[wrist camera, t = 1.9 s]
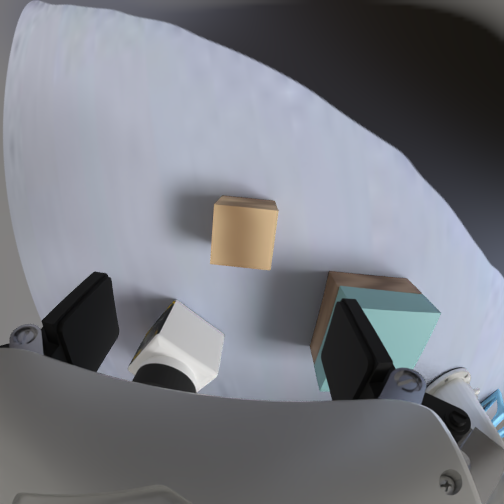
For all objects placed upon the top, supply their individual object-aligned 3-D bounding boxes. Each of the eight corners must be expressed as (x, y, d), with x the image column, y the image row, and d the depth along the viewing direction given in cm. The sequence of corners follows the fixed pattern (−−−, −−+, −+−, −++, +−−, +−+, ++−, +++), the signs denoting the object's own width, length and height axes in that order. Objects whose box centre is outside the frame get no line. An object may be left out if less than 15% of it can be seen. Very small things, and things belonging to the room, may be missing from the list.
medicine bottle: (176, 297, 30) (138, 370, 18) (226, 333, 31) (212, 415, 20) (146, 333, 32) (109, 403, 20) (192, 364, 33) (171, 439, 22)
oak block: (274, 200, 26) (278, 210, 21) (268, 250, 28) (270, 270, 23) (222, 195, 26) (214, 204, 21) (218, 245, 28) (210, 263, 23)
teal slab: (422, 294, 25) (441, 313, 21) (390, 365, 28) (401, 388, 25) (339, 285, 25) (352, 307, 21) (313, 365, 28) (319, 391, 24)
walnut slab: (405, 277, 29) (421, 293, 25) (380, 345, 32) (391, 365, 28) (328, 269, 29) (338, 286, 25) (309, 344, 32) (314, 366, 28)
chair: (501, 393, 39) (521, 422, 28) (477, 415, 41) (496, 446, 30) (497, 385, 38) (520, 417, 26) (472, 410, 40) (492, 443, 28)
